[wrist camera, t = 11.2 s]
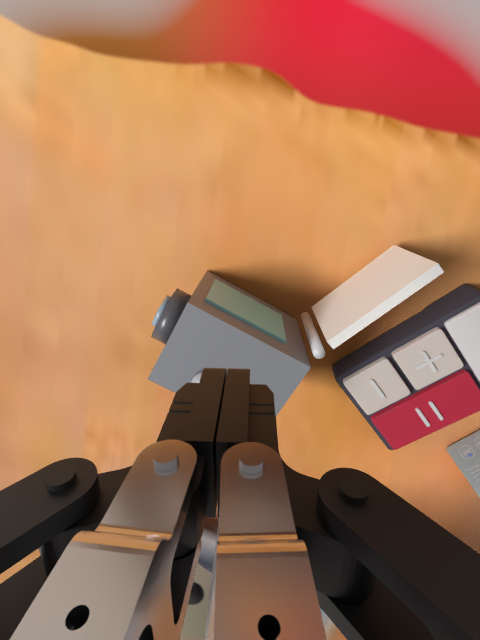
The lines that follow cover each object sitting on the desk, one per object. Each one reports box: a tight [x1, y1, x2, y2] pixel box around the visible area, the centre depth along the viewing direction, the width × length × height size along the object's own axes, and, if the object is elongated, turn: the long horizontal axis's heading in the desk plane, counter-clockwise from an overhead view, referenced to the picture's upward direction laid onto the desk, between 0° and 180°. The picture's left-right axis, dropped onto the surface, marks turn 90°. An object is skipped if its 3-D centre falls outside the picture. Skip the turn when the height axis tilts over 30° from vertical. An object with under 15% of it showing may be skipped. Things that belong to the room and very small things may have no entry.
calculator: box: [332, 284, 480, 450], centre depth 34 cm, size 11×4×15 cm
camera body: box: [148, 270, 325, 415], centre depth 30 cm, size 13×8×11 cm, turn 61°
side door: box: [311, 245, 444, 349], centre depth 28 cm, size 9×2×8 cm, turn 131°
